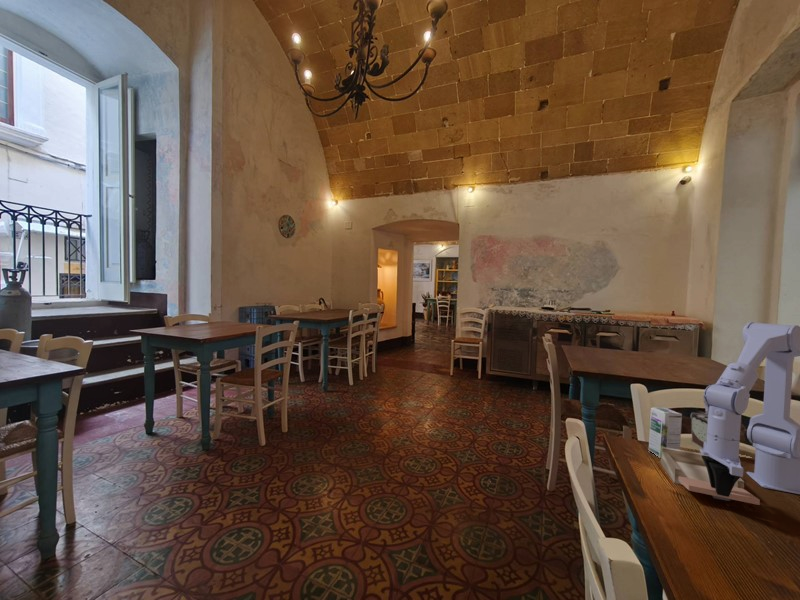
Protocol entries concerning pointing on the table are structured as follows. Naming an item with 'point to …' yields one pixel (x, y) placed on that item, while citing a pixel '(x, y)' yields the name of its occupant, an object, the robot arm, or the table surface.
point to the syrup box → (664, 430)
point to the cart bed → (687, 465)
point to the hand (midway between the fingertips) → (719, 491)
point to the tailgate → (706, 488)
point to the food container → (699, 428)
